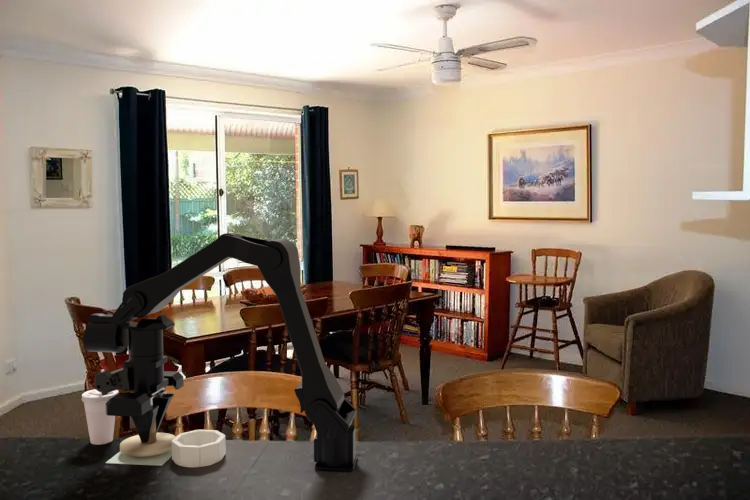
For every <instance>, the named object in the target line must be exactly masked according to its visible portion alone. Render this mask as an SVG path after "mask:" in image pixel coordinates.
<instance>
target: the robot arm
mask: <svg viewBox="0 0 750 500" xmlns="http://www.w3.org/2000/svg"><path fill="white" fill-rule="evenodd" d="M229 259H235V260H237V261H240V262H242V263H244V264H248V265H252V266H257V267H258V270H259V272H260V274H261V275H262V277H263V280H264V281H265V282H266V284H267V285H268V286H269V288H270V289H271V290H272V292H273V293H274V295H275V296H276V298H277V301H278V302H277V303H278V305H279V307H280V311H281V314H282V318H283V320H284V324H285V326H286V329H287V333H288V336H289V338H290V342H291V346H292V348H293V351H294V355H295V357H296V362H297V364H298V366H299V367H298V368H299V370H300V373H301V382H299V384H298V385H297V386H296V387H295V388H294V394H295V396H296V398H297V400H298V402H299V406H300V411H299V412H300V413H301V414H302V413H303V412H304V416H305V417H306V419H307V421H309V422H311V423H313V426H314V429H315V431H316V434H315V436H314V437H313V462H314V463H315V465H314V470H317V471H318V470H319V471H341V472H352V471H354V470H355V469H354V468H355V465H356V463H357V459H358V454H356V445H357V443H356V442H357V441H356V433H357V431H356V425H352V423H353V422H354V420H355V417H356V415H357V412H358V411H357V410H358V409H357V408H355V407H354V406H353V405H352V404H351V402H349V401H348V400H347V399H346V398H345V393H344V391H343V389H342V387H341V385H340V383H339V381H338V379H337V378H336V376H335V374H334V373H333V372H332V370H331V369H330V368H329V367H328V365H327V364H326V361H325V359H324V356H323V355H324V354H323V352H322V349H321V346H320V342H319V339H318V336H317V334H316V330H315V328H314V324H313V321H312V318H311V315H310V313H309V312H310V311H309V309H308V306H307V302H306V300H305V299H306V298H305V296H304V293H303V290H302V284H301V282H302V280H301V279H302V277H301V274H302V273H301V272H302V271H301V264H300V263H301V262H300V257H299V251H298V248H297V246H296V245H295V243H293V242H292V241H290V240H288V239H286V238H279V239H273V240H268V239H263V238H258V237H254V236H253V237H251V236H246V235H243V234H241V233H237V232H225V233H223V234H222V233H221V234H220V235H219V236H218V237H217V238H216V239H215V240H214V241H212V242H210V243H209V244H207V245H206V246H204V247H203V248H201V249H199V250H198V251H197V252H194V254H191V255H190V256H189V257H187V258H185V259H184V260H182V261H181V262H179V263H177V264H176V265H175V266H172V268H171V267H170V269H168V270H167V271H165V272H162V273H160V274H158V275H156V276H152V277H149V278H147V279H144V280H142V281H139V282H137V283H135V284H131V285H129V286H128V287H127V288H125V290H124V291H123V292H122V299H121V303H120V304H119V306H118V307H117V308H116V310H115V312H114V313H113V314H106V313H105V314H104V313H101V312H99V313H98V312H96V313H92V314H90V315H89V322H88V323H87V324H86V327H85V330H84V334H83V336H82V344H83V347H84V349H85V350H86V351H87V352H89V353H91V352H92V353H118V354H119V353H123V352H124V351H125V350H126V348H128V360H127V359H126V360H125V361H124V362H123V363H122V368H118V369H115V370H113V371H109V369H106V370H104V372H101V371H100V372H98V373H97V374H95V376H94V380H93V382H94V385H93V390H94V389H96V390H97V391H99V392H101V393H102V396H104V395H107V394H108V393H109V392H112V391H115V390H118V391H119V390H122V391H121V392H119V394H117V395H115V396H114V397H112V398H110V399H109V400H108V401H107V403H106V415H107V416H115V417H130V418H131V420H132V422H133V423H134V424H133V425H134V427H135V429H136V431H137V435H139V437H140V440H141V442H142V443H147V442H148V441H149V438H150V435H151V432H152V428H153V425H154V421H155V419H156V434H157V433H158V431H159V428H160V427H161V424H162V421H163V419H164V417H165V414H166V412H167V411H168V409H169V405H170V404H171V402H172V399H173V398H174V395H175V394H174V393H167V389H165V388H167V387H172V386H173V388H174V390H177V391H178V390H180V389H181V388H182V387H184V385H185V384H184V375H182V374H181V373H180V371H171V370H170V371H169V370H168V371H165V369H164V365H165V364H166V363H168V362H169V359H168V358H169V356H168V355H164V333H163V332H164V331H165V330H168V329H170V328H173V327H174V326H176V325H175V322H174V321H173V320H171V319H170V318H169V317H168V316H167V314H166V313H163V314H159V315H158V316H157V317H155V318H154V317H153V318H152V317H148V318H147V317H146V316H149V315H152V314H155V313H158V312H160V311H162V310H163V309H164V308H165V307H167V305H169V303H171V302H172V300H174V299H175V297H176V296H177V295H178V294H179V293H180V292H181V291H182V290H183V289H184V288H186V287H187V286H189V285H190V284H192V283H194V282H195V281H197V280H198V279H200V278H201V277H203V276H204V275H207V273H209V272H211V271H212V270H214V269H215V268H217V267H219V266H220V265H222V264H224V262H226V261H228V260H229ZM138 318H139V321H138V322H131V321H133V320H135V319H138ZM140 318H141V319H140ZM131 391H132V392H131Z"/></svg>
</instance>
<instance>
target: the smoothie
mask: <svg viewBox="0 0 750 500" xmlns="http://www.w3.org/2000/svg"><path fill="white" fill-rule="evenodd" d="M104 371H105V369H100V372H104ZM119 393H120V392H119V389H118V390H115V391H112V392H109V393H108V394H107V395H104V396H102V393H101V392H99V391H97V390H96V389H94V388H93V389H91V390H89V389H88V390H87V391H84V392H83V393H82V394H81V401H82V403H83V406H84V411H85V417H86V423H87V428H88V429H87V430H88V436H89V440H90V444H92V445H99V446H100V445H106V444H109V443H112V442H113V441H114V431H115V423H116V422H115V421H116V416H107V415H106V403H107V401H108V400H109V399H110V398H112V397H114V396H115V395H117V394H119Z"/></svg>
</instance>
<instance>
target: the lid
mask: <svg viewBox="0 0 750 500" xmlns="http://www.w3.org/2000/svg"><path fill="white" fill-rule="evenodd" d="M175 437H176V436H175V435H174V434H172V433H167V432H157V434H156V419H155V421H154V425H153V428H152V432H151V435H150V438H149V441H148V442H147V443H142V442H141V440H140V437H139V434H136V435H132V436H130V437H127V438H125V439H123V440H122V441H121V442H120V443H119V452H121V453H122V454H124V455H128V456H135V457H143V456H152V455H158V454H161V453H165V452H167V451H170V450H171V449H172V440H173V439H174V438H175Z"/></svg>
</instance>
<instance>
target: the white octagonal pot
mask: <svg viewBox="0 0 750 500" xmlns="http://www.w3.org/2000/svg"><path fill="white" fill-rule="evenodd" d="M226 441H227V440H226V434H224V433H222V432H220V431H219V430H217V429H216V430H215V429H194V430H190V431H186V432H181V433H179V434H178V435H176V436H175V438H174V439H173V440H172V456H171V459H172V461H173V463H175V465H178V466H179V467H184V468H202V467H208V466H211V465H214V464H217V463H219V462H220V461H222V460H223V459H224V457H225V455H226V454H227V453H226V452H227V447H226V445H227V443H226Z"/></svg>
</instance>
